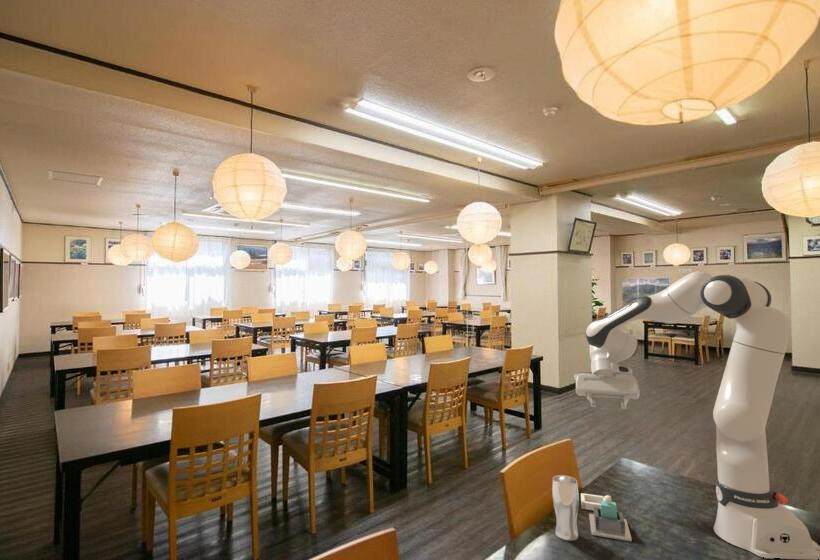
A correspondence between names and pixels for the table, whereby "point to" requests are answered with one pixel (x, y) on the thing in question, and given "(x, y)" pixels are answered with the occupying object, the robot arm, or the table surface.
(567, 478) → the beer glass
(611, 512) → the teal bottle
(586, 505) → the white shallow rectangular tray
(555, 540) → the table surface
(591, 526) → the port
